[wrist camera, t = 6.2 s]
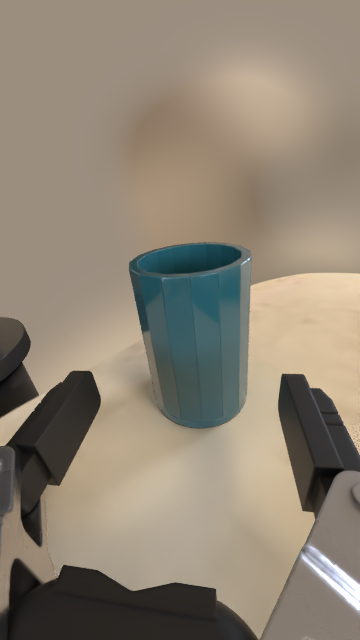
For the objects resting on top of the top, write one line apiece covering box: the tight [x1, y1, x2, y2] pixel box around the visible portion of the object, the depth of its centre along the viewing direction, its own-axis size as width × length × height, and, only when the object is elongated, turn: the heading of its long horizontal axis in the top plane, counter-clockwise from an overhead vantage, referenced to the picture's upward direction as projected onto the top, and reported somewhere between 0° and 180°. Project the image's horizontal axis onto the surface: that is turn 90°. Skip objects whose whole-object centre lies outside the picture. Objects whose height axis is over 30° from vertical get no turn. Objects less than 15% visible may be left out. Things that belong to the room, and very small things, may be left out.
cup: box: [129, 242, 251, 428], centre depth 16 cm, size 7×7×10 cm
